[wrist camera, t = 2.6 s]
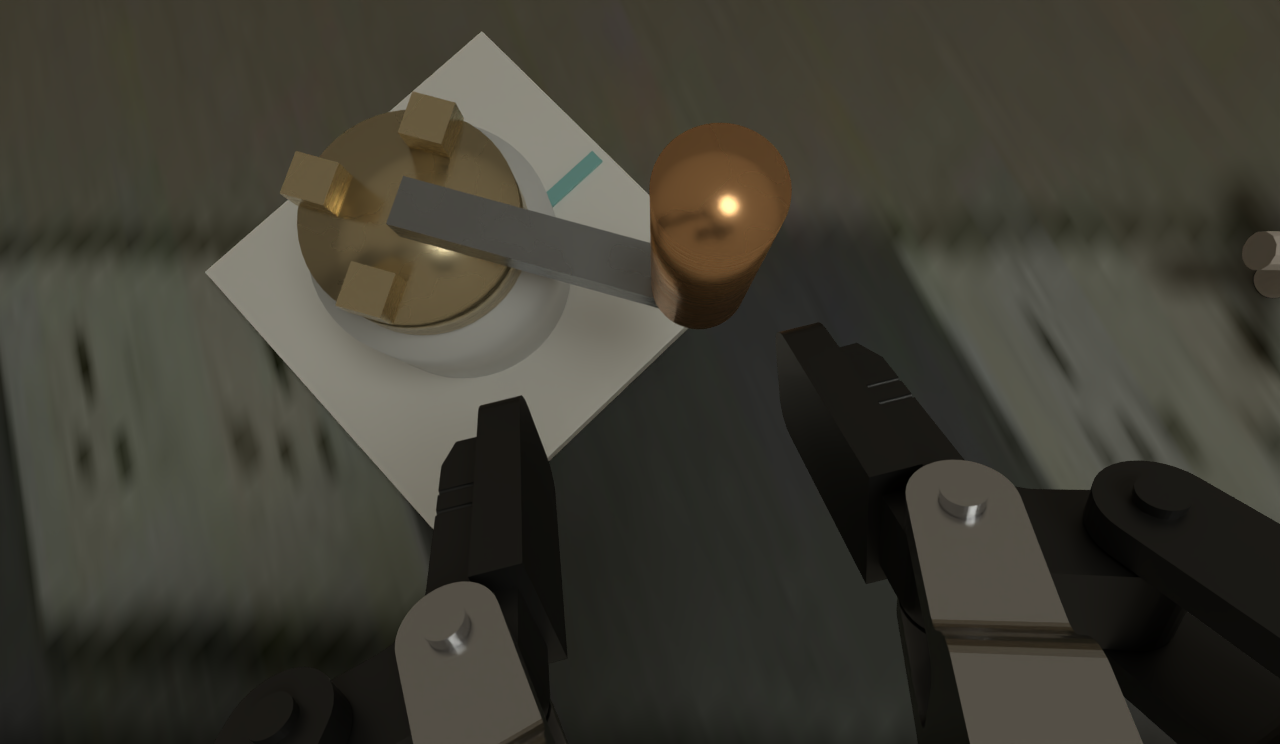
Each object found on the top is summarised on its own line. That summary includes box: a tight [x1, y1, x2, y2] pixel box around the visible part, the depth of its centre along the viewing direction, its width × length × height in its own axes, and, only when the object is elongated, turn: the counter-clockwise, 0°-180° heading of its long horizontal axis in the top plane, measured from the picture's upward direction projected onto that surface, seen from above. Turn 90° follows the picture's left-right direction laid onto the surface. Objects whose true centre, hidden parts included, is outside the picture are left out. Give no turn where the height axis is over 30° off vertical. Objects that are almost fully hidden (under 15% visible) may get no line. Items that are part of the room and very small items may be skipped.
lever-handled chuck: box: [280, 91, 792, 335], centre depth 23 cm, size 18×9×12 cm, turn 74°
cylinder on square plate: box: [205, 32, 688, 530], centre depth 33 cm, size 20×20×8 cm
